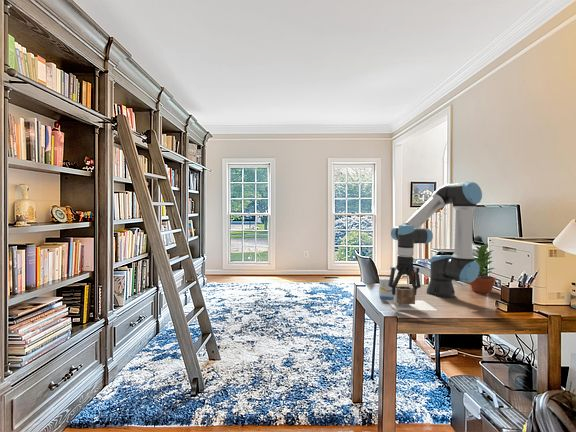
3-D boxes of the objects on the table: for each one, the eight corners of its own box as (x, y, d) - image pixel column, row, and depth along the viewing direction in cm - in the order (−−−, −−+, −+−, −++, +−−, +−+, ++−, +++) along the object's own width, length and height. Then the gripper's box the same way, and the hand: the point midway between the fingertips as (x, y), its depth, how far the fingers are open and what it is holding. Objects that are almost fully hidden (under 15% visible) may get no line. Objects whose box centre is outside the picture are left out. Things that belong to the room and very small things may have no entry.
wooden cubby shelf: (409, 299, 179) (409, 285, 179) (414, 304, 171) (415, 288, 171) (393, 299, 179) (393, 284, 179) (398, 303, 171) (399, 288, 171)
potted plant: (479, 287, 227) (480, 241, 226) (500, 293, 212) (502, 243, 212) (461, 289, 221) (463, 241, 221) (482, 294, 207) (484, 244, 206)
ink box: (396, 302, 187) (397, 280, 186) (379, 300, 188) (380, 279, 188) (394, 298, 195) (395, 277, 195) (379, 296, 197) (379, 276, 196)
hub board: (422, 302, 186) (423, 287, 186) (437, 312, 168) (438, 296, 168) (385, 302, 186) (385, 286, 186) (396, 312, 168) (396, 295, 168)
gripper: (423, 255, 178) (421, 299, 179) (382, 254, 178) (380, 299, 179) (429, 257, 171) (427, 303, 171) (386, 256, 170) (385, 303, 171)
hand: (403, 301), depth 175 cm, fingers closed on wooden cubby shelf, 8 cm apart
